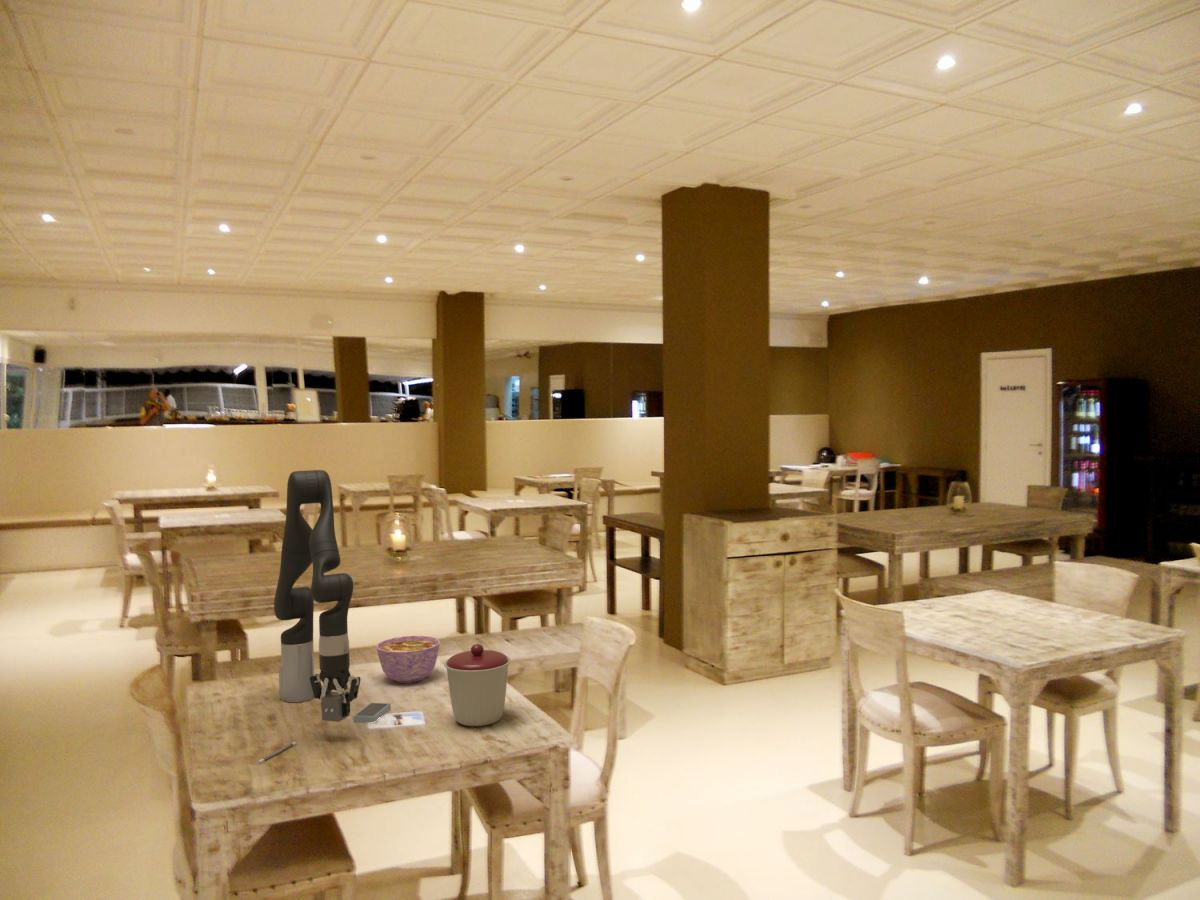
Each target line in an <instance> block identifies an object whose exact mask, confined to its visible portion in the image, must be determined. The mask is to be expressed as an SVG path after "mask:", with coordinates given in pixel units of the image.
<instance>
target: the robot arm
mask: <svg viewBox="0 0 1200 900" xmlns="http://www.w3.org/2000/svg"><path fill="white" fill-rule="evenodd" d="M332 488H333V487H332V482H331V477H330V476H329V474H328V472H327V471H325V470H323V469H316V470H315V469H313V470H311V469H310V470H296V471H292V472H291V473H289V476H288V480H287V488H286V508H285V509H286V512H285V513H286V515H285V523H284V530H283V539H282V543H281V544H282V545H281V552H280V553H281V554H280V555H281V556H280V568H279V575H278V581H277V585H276V588H275V589H276V590H275V595H274V600H273V602H274V603H273V611H274V615H275V617H276V619H277V620H279V621H291V620H298V619H299V620H298V621H297V622H296V624H294V625H293V626H292V627H290V628H287V629H285V630H284V631H282V632H281V633H280V651H281V652H280V653H281V655H280V657H281V666H280V667H279V668H278V686H279V687H278V689H279V693H278V694H279V700H280V699H283V700H284V701H283V700H282V701H283V702H285V701H287V702H286V703H300V702H302V703H303V702H306V701H308V700H309V699H310V700H312V699H315V700H320V701H319V702H321V703H320V704H321V705H320V706H321V707H320V708H321V710H322V701H321V697H323V696H326V695H327V694H330V693H331V692H333V691H335V692H338V695H340V697H341V700H342V702H343V703H342V717H346V718H347V716H348V715H349V714H350V713H351V702H352V701H354V700H356V699H357V698H358V695H359V689H360V684H361V677H360V676H352V674H351V673H350V661H351V660H350V639H349V633H348V632H349V631H348V630H349V629H348V614H349V610H350V609H349V608H350V605H351V604H350V603H351V600H352V597H353V594H354V581H353V578H352V576H351V575H349V574H348V573H347V572H346V573H345V572H343V573H332V574H326V573H328V572H330V571H333V570H335V569H337V568H338V567H340V564H341V555H340V552H339V546H338V543H337V542H338V541H337V537H336V531H335V514H334V513H335V512H334V500H333V489H332ZM307 504H308V505H309V504H320V511H319V515H318V518H317V521H316V522H315V525H314V527H313V528H312V526H311V525H310V524H309V523H308V522H307V521H306V518H305V517H304V515H303V513H302V512H301V511H302V510H301V506H302V505H307ZM311 565H312V579H311V586H301V587H300V586H299V587H294V585H295V583H296V582H297V581H298V580H299V578H300V577H301V576H302V575H303V574H304V573H305V572H306V571H307V570H308V569H309V567H310V566H311ZM315 602H316V603H318V604H325V603H331V602H332V603H333V602H336V604H335V606H334V607H332V608H330V609H327V610H325V611H323V612H321V613H320V614H319V616H318V627H319V628H318V630H319V631H318V632H319V633H318V634H319V636H318V656H319V658H318V660H319V667H318V668H319V670H320V672H319V673H316V674H315V654H314V653H315V649H314V648H315V647H314V612H315V611H314V610H315V609H314V608H315V605H314V604H315ZM349 686H350V687H349ZM345 695H346V696H345ZM313 697H314V698H313ZM350 715H351V714H350ZM348 717H349V716H348Z"/></svg>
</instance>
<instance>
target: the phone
mask: <svg viewBox="0 0 1200 900" xmlns="http://www.w3.org/2000/svg"><path fill="white" fill-rule="evenodd" d="M391 708H392V707H391V703H389V702H388V703H387V702H386V703H385V702H370V703H368V704H367V705H366V706H364V707H362V709H360V710H359V711H358V712H357V713H355V714H354V715H353V723H362V722H374V721H376V720H377V719H378V718H379V717H381V716H382V715H383V716H385V715H386V714H387V713H388V712H390V711H391V710H390V709H391ZM386 712H387V713H386ZM385 713H386V714H385ZM384 714H385V715H384ZM383 716H382V717H383ZM382 717H381V718H382ZM378 720H379V719H378ZM378 720H377V721H378ZM377 721H376V722H377Z"/></svg>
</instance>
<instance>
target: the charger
mask: <svg viewBox="0 0 1200 900" xmlns="http://www.w3.org/2000/svg"><path fill="white" fill-rule="evenodd" d="M345 696H346V695H345ZM321 701H322V707H321V708H322V709H321V720H322V721H324V722H336V723H338V722H341V721H343V720H345V719H346V718H347V717H349V716H351V714H349V715H348V716H347V717H342V703H343V702H342V700H341V697H340V695H338V692H337V691H331V693H330V694H327V695H326V696H323V697H321ZM321 701H320V702H321Z"/></svg>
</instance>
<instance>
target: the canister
mask: <svg viewBox="0 0 1200 900" xmlns="http://www.w3.org/2000/svg"><path fill="white" fill-rule="evenodd" d="M511 661H512V660H511V658H510V657H509V656H508V655H506V654H504V653H503V652H500V651H496V650H491V649H484V645H482V644H478V643H475V644H473V645H472V646H471V647H470V650H468V651H462V652H458V653H456V654H454V655H452V656H450V657H449V658H447V659H446V660H445V661H444V662H443V666H444V667H445V669H446V672H447V681H448V688H449V695H450V702H451V709H452V715H453V717H454V719H455V720H456V722H458V724H461V725H462V726H463V725H464V726H467V727H485V726H489V725H492V724H495V723H497V722H499V720H500V719H501V718H502V716H503V715H504V711H505V705H506V703H505V702H506V696H507V685H508V674H509V673H508V672H509V669H508V668H509V665H510V663H511Z"/></svg>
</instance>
